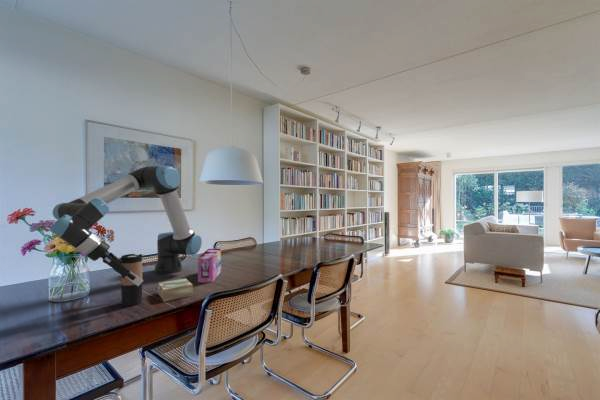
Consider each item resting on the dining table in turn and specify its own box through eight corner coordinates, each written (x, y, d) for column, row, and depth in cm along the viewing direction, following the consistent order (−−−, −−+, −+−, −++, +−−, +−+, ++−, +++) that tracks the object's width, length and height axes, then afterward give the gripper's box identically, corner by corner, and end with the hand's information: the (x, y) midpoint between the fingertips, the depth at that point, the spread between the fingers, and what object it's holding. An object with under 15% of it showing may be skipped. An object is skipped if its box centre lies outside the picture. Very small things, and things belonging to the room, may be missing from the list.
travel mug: (122, 308, 112) (122, 258, 111) (119, 302, 117) (119, 255, 117) (144, 303, 117) (144, 255, 116) (140, 298, 122) (140, 252, 122)
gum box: (212, 283, 144) (212, 257, 144) (196, 283, 144) (196, 257, 143) (221, 271, 168) (221, 248, 168) (207, 271, 167) (207, 248, 167)
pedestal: (158, 293, 128) (158, 282, 128) (185, 288, 136) (185, 277, 136) (163, 301, 119) (163, 289, 119) (192, 295, 126) (192, 284, 126)
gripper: (85, 250, 117) (127, 279, 127) (85, 261, 98) (135, 295, 107) (100, 236, 120) (141, 266, 130) (103, 244, 101) (150, 278, 110)
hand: (138, 279), depth 118 cm, fingers open, 12 cm apart
